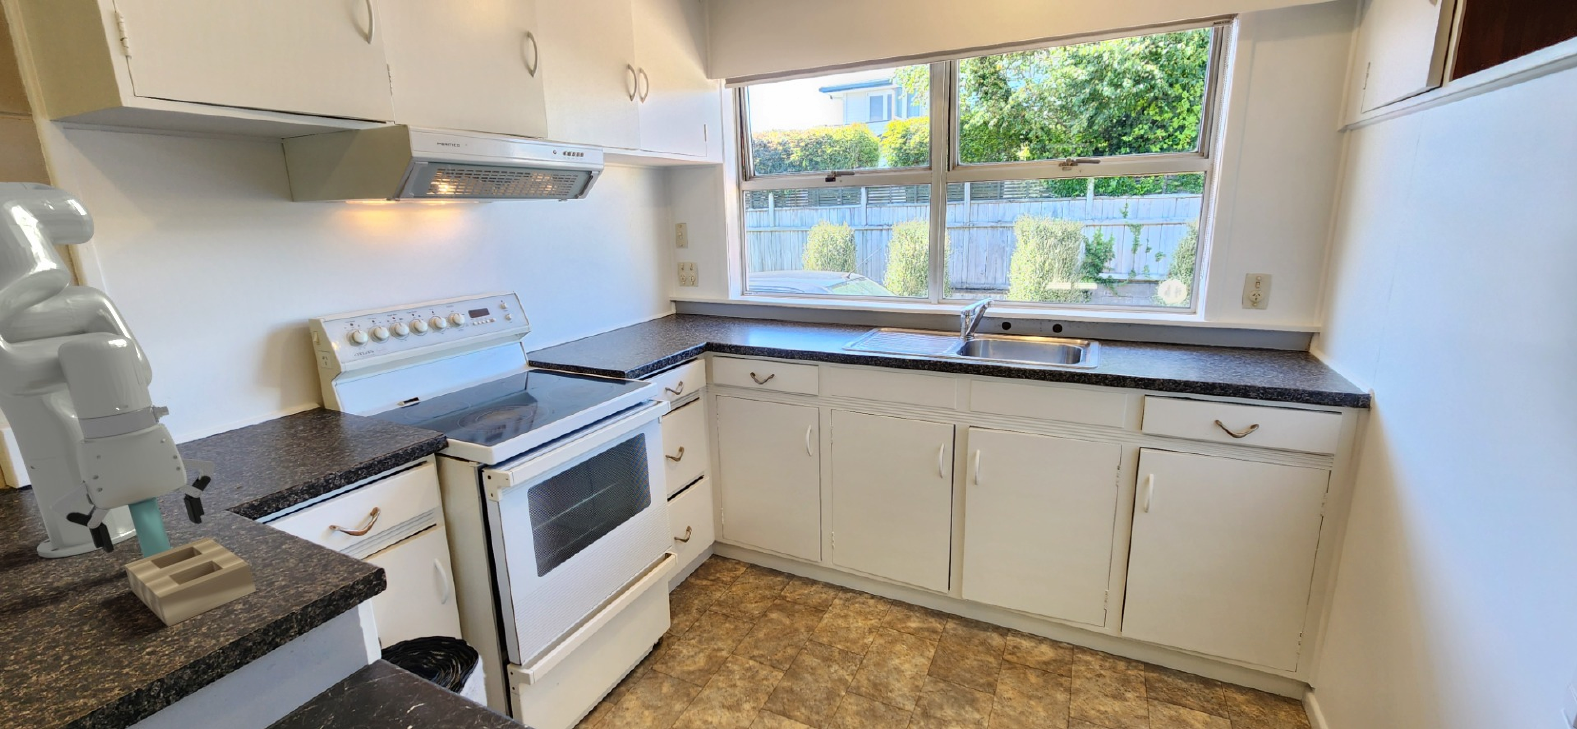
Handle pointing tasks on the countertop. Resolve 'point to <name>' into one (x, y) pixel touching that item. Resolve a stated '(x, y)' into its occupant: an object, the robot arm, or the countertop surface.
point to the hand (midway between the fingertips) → (154, 535)
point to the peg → (149, 527)
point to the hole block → (190, 580)
